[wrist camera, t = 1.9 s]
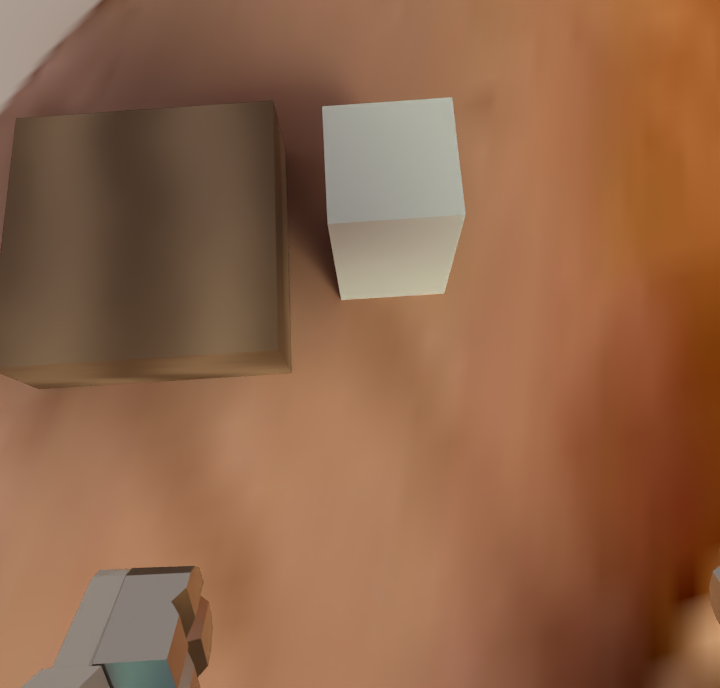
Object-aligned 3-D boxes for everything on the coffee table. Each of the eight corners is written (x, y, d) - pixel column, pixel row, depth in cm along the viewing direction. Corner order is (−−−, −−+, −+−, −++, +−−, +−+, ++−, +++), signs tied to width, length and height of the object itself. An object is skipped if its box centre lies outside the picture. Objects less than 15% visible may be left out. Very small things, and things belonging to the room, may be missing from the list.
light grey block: (434, 201, 31) (452, 97, 24) (444, 293, 30) (465, 214, 22) (336, 207, 32) (322, 106, 24) (341, 300, 30) (327, 223, 22)
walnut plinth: (285, 150, 33) (273, 100, 29) (291, 372, 29) (278, 349, 25) (58, 165, 33) (16, 118, 29) (38, 388, 29) (-14, 368, 25)
